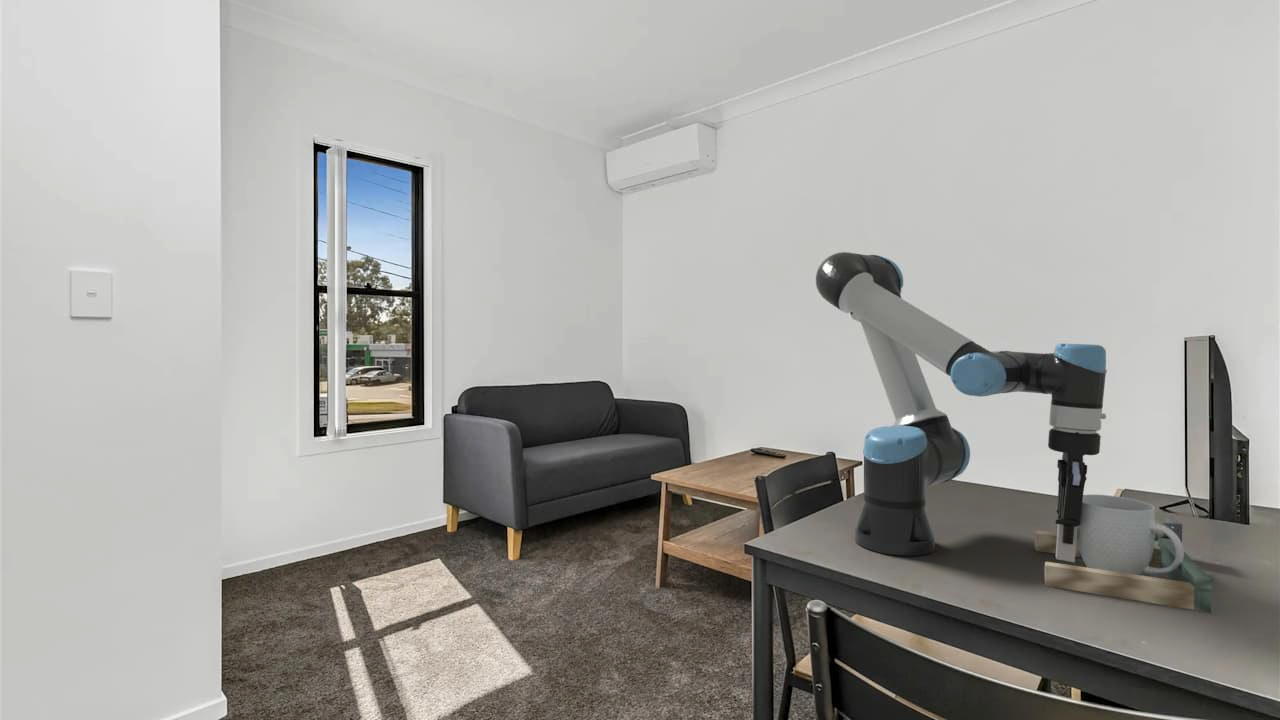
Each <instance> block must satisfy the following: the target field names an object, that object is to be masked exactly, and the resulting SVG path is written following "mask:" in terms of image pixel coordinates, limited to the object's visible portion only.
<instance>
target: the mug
mask: <svg viewBox="0 0 1280 720" xmlns="http://www.w3.org/2000/svg"><path fill="white" fill-rule="evenodd" d="M1155 507H1156V506H1155V505H1152V504H1151V503H1149V502H1145V501H1142V500H1138V499H1134V498H1130V497H1122V496H1115V495H1106V494H1083V500H1082V509H1081V517H1080V525H1079V526H1077V542H1078V546H1079V550H1080V553H1081V556H1082V557H1081V558H1082V561H1083V562H1084V564H1085V566H1086V567H1087V568H1093V569H1100V570H1107V571H1114V572H1121V573H1128V574H1135V575H1142V576H1144V574H1150V575H1151V574H1153V575H1154V574H1155V575H1166V573H1170V572H1173V571H1175V570H1176V569H1178V568H1179V567H1180V565H1181V563H1182V561H1183V557H1184V552H1185V551H1184V546H1183V542H1182V543H1181V541H1180V539H1179V537H1178V536H1177V535H1176V534H1175V533H1174V532H1173V531H1172V530H1170V529H1169V528H1167V527H1165V526H1162V525H1159V524H1155V522H1156V508H1155ZM1155 531H1159V532H1162V533H1164V534H1166V535H1167V536H1168V537H1169V538H1170V539H1171V541H1172V542H1173V544H1174V547H1175V552H1176V555H1175V559H1174V561H1173V563H1172V564H1171V565H1170V566H1168V567H1166V568H1156V567H1149V566H1148V565H1149V563H1150V561H1151V557H1152V553H1153V547H1154V545H1155V541H1154V538H1155Z"/></svg>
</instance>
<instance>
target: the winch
mask: <svg viewBox="0 0 1280 720" xmlns="http://www.w3.org/2000/svg"><path fill="white" fill-rule="evenodd" d="M1155 524H1159V525H1162V526H1165V527H1167V528H1169V529H1170V530H1172V531H1173V532H1174V533H1175V534H1176V535H1177V536H1178V537H1179V539H1180V541H1181V543H1182V544H1183V523H1181V521H1180V520H1178V519H1177V518H1176V517H1175V516H1167V515H1166V516H1165V522H1164V521H1163V522H1162V521H1155ZM1158 538H1165V539H1170V538H1169V537H1168V536H1167V535H1166V534H1164V533H1162V532H1159V531H1155V538H1154V542H1158ZM1155 545H1156V544H1155ZM1156 546H1158V544H1157V545H1156Z"/></svg>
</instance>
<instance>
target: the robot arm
mask: <svg viewBox="0 0 1280 720" xmlns="http://www.w3.org/2000/svg"><path fill="white" fill-rule="evenodd" d="M815 284H816V288H817V291H818V293H819V294H820V296H821V297H822V298H823V299H824V300H826V302H828V303H829V304H831V305H832V306H834V307H835V308H837V309H838V310H840V311H841V312H843V313H845V314H849V313H850V317H851V319H852V320H854V321H857V322H859V323H860V324H861V326H862V331H863V333H864V336H865V337H866V341H867V343H868V346H869V349H870V352H871V354H872V358H873V360H874V363H875V366H876V368H877V371H878V375H879V376H880V380H881V383H882V385H883V388H884V390H885V393H886V396H887V398H888V401H889V405H890V407H891V410H892V413H893V416H894V420H895V421H894V424H893V425H891V426H887V425H886V426H880V427H877V428H873V429H871V430H869V431H868V432H867V433H866V434H865V438H864V443H863V444H864V445H863V446H864V447H863V449H862V454H863V505H862V507H861V510H860V513H859V515H858V518H857V520H856V523H855V527H854V542H856V543H857V544H858V545H859V546H861V547H862V548H865V549H868V550H871V551H874V552H877V553H881V554H887V555H894V556H905V557H906V556H909V557H912V556H915V557H917V556H924V555H927V554H928V555H929V554H930V553H932V552H934V551H935V549H936V537H935V535H934V531H933V527H932V525H931V521H930V518H929V516H928V513H927V509H926V508H927V507H926V500H927V499H926V498H927V497H926V495H927V494H926V493H927V491H926V490H927V489H926V488H927V487H929V486H933V485H936V484H943V483H947V482H950V481H952V480H953V479H955V478H957V477H959V476H961V474H963V473H964V472H965V471H966V469H967V467H968V465H969V462H970V459H971V447H970V444H969V443H968V442H969V441H968V440H967V438H966V436H965V435H964V434H963V433H961V431H959V430H957V429H956V428H954V427H952V425H951V423H950V419H949V417H948V415H947V413H945V412H944V411H941V410H939V409H938V408H937V407H936V405H935V402H934V400H933V397H932V393H931V391H930V389H929V386H928V384H927V382H926V378H925V376H924V374H923V370H922V368H921V365H920V362H919V360H918V358H917V356H919V357H920V358H921V359H923V360H924V361H926V362H927V363H929V364H931V365H932V366H933V367H934V368H936V369H938V370H940V371H941V372H943V373H944V374H945V375H947V376H949V377H950V380H951V383H953V387H955V389H956V390H957V391H959V392H960V393H961V394H964V395H967V396H974V397H989V396H992V395H997V394H998V395H1000V394H1008V393H1016V392H1018V393H1019V392H1020V393H1031V394H1032V393H1035V394H1044V395H1051V401H1050V409H1049V410H1050V411H1049V424H1048V425H1050V427H1052V428H1050V429H1049V431H1048V439H1047V440H1048V443H1047V447H1048V448H1049V449H1050V450H1052V451H1054V452H1059V453H1062V457H1061V459H1057V466H1056V467H1057V469H1058V473H1057V474H1058V476H1057V482H1058V489H1057V490H1058V491H1057V492H1058V493H1057V509H1056V513H1057V515H1058V516H1057V519H1055V521H1054V522H1055V524H1056V525H1057V531H1056V533H1057V543H1056V554H1055V559H1056V560H1059V561H1064V562H1070V563H1075V562H1076V556H1075V553H1076V540H1077V526H1079V525H1080V517H1081V509H1082V500H1083V495H1084V493H1085V492H1084V491H1085V485H1086V481H1087V473H1088V465H1087V464H1086V463H1085V462H1084V456H1096V455H1099V453H1100V451H1101V439H1102V438H1101V437H1102V436H1101V435H1100V434H1099V433H1098V431H1101V429H1102V420H1105V419H1107V415H1106V413H1103V407H1104V395H1105V387H1106V386H1105V383H1106V375H1107V363H1106V362H1107V351H1106V348H1105V347H1103V346H1102V345H1100V344H1089V343H1088V344H1085V343H1084V344H1083V343H1057V344H1056V345H1055V348H1054V350H1053V353H1051V352H1050V353H1038V352H1037V353H1036V352H1024V351H1022V352H1021V351H1011V350H1000V351H990V350H988V349H986V348H985V347H983V346H981V345H980V344H978V343H976V342H975V341H973V340H972V339H970V338H968V337H967V336H965V335H963V334H962V333H960V332H958V331H956V330H955V329H954V328H951V327H950V326H949V325H947V324H945V323H944V322H942V321H940V320H938V319H937V318H934V317H933V316H932V315H930V314H928V313H926V312H925V311H923V310H921V309H920V308H918V307H916V306H914V305H913V304H911V303H910V302H908V301H906V300H904V299H903V298H902V294H901V293H902V288H903V287H904V276H903V273H902V271H901V269H900V267H899V266H898V265H897V264H896V262H894V261H893V260H891V259H889V258H886V257H883V256H881V255H877V254H868V255H867V254H863V253H862V254H861V253H854V252H848V251H847V252H846V251H843V252H841V251H840V252H836V253H834V254H831V255H830V256H828V257H827V258H825V259H824V260H823V261H822V262H821V264H820V265H819V267H818V269H817V271H816V275H815Z"/></svg>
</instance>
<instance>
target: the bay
mask: <svg viewBox="0 0 1280 720" xmlns="http://www.w3.org/2000/svg"><path fill="white" fill-rule="evenodd" d="M1034 532H1035V533H1034V550H1035V551H1036V552H1042V553H1043V552H1044V553H1049V554H1055V555H1056V543H1057V532H1052V531H1045V530H1038V529H1037V530H1034ZM1157 545H1158V546H1156V544H1154V547H1153V553H1152V557H1151V561H1150V563H1149V565H1148V566H1149V567H1153V568H1166V567H1168V566H1170V565H1171V564H1172V563H1173V561H1174V559H1175V555H1176V552H1175V547H1174V544H1173V542H1172V541H1171V539H1165V538H1158V541H1157ZM1075 557H1078V558H1082V556H1081V553H1080V550H1079V546H1078V542H1077V540H1076V553H1075ZM1165 576H1166V577H1167V578H1160V577H1154V576H1149V575H1147V576H1146V575H1135V574H1128V573H1121V572H1114V571H1107V570H1100V569H1093V568H1087V566H1086V567H1085V566H1078V565H1071V564H1066V563H1065V564H1064V563H1057V562H1051V561H1044V581H1043V582H1044V585H1045V587H1051V588H1058V589H1065V590H1071V591H1075V592H1081V593H1082V592H1083V593H1089V594H1095V595H1100V596H1101V595H1102V596H1106V597H1107V596H1108V597H1112V598H1113V597H1114V598H1119V599H1126V600H1132V601H1139V602H1143V603H1144V602H1145V603H1151V604H1157V605H1162V606H1169V607H1176V608H1181V609H1188V610H1194V611H1198V612H1199V611H1201V612H1206V613H1211V611H1212V588H1213V587H1212V586H1213V585H1212V583H1213V581H1212V578H1210V576H1209V575H1207V573H1205V572H1204V571H1203V569H1202V568H1201V567H1200V566H1199V565H1198V564H1197V563H1196V562H1195V561H1194V560H1193V559H1192V558H1191V557H1190V556H1189V554H1187V552H1185V551H1184V557H1183V561H1182V563H1181V565H1180V567H1179V568H1178V569H1176V570H1175V571H1173V572H1170V573H1166V574H1165Z"/></svg>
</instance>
